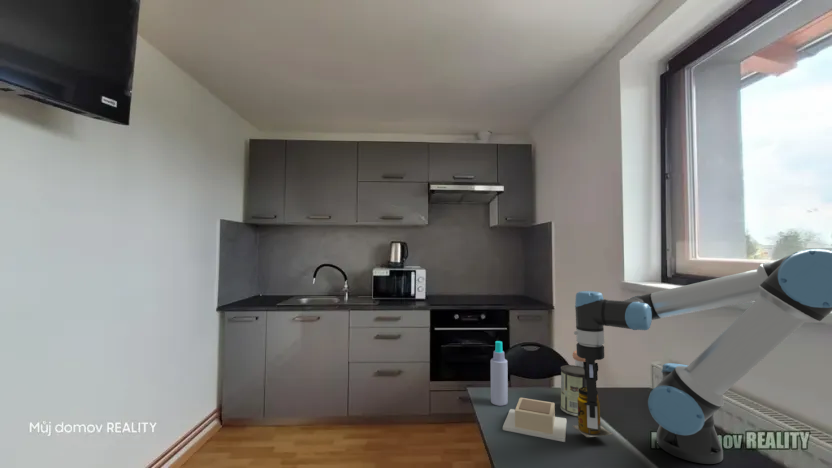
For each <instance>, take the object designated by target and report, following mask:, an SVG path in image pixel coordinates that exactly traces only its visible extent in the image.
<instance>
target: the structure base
mask: <svg viewBox="0 0 832 468" xmlns="http://www.w3.org/2000/svg"><path fill="white" fill-rule="evenodd" d="M517 401H518V402H517V404H516V407H515V409H514V408H510V409H509V411H508V414H507V416H506V418H505V421H504V423H503V426H502V430H503V431H506V432H510V433H511V432H512V433H517V434H521V435H526V436H532V437H536V438H537V437H538V438H543V439H548V440H552V441H558V442H561V443H562V442H563V443H566V432H567V418H565V417H559V416H556V415H555V414H556V411H555V410H556V409H555V408H556V406H555V405H556V404H555V402H551V401H545V400H538V399H534V398H533V399H532V398H525V397H519V399H518V400H517Z"/></svg>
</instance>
